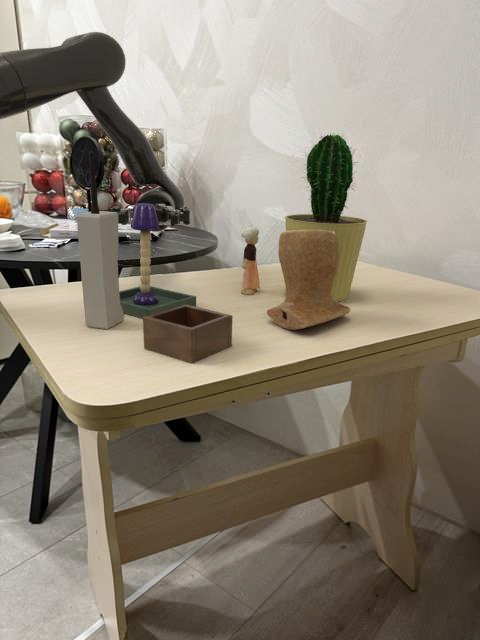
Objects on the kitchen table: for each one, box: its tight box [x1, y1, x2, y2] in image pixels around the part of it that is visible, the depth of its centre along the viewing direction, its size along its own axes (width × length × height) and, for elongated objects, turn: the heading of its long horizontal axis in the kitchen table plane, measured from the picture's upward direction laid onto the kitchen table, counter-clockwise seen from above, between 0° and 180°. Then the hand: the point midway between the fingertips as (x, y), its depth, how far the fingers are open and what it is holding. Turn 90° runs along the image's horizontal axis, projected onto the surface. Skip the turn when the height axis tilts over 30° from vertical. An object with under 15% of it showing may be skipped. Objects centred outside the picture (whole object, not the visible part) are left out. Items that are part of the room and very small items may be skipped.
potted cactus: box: [284, 132, 368, 303], centre depth 98 cm, size 15×15×30 cm
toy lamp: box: [130, 203, 159, 305], centre depth 88 cm, size 5×5×17 cm
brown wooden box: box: [142, 304, 233, 364], centre depth 72 cm, size 9×9×4 cm
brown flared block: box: [266, 230, 352, 331], centre depth 84 cm, size 15×12×15 cm
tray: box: [119, 285, 197, 319], centre depth 90 cm, size 12×11×2 cm
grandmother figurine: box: [240, 226, 260, 296], centre depth 101 cm, size 8×4×13 cm, turn 179°
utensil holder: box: [76, 151, 125, 330], centre depth 76 cm, size 4×5×25 cm
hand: (148, 219), depth 91 cm, fingers open, 8 cm apart
